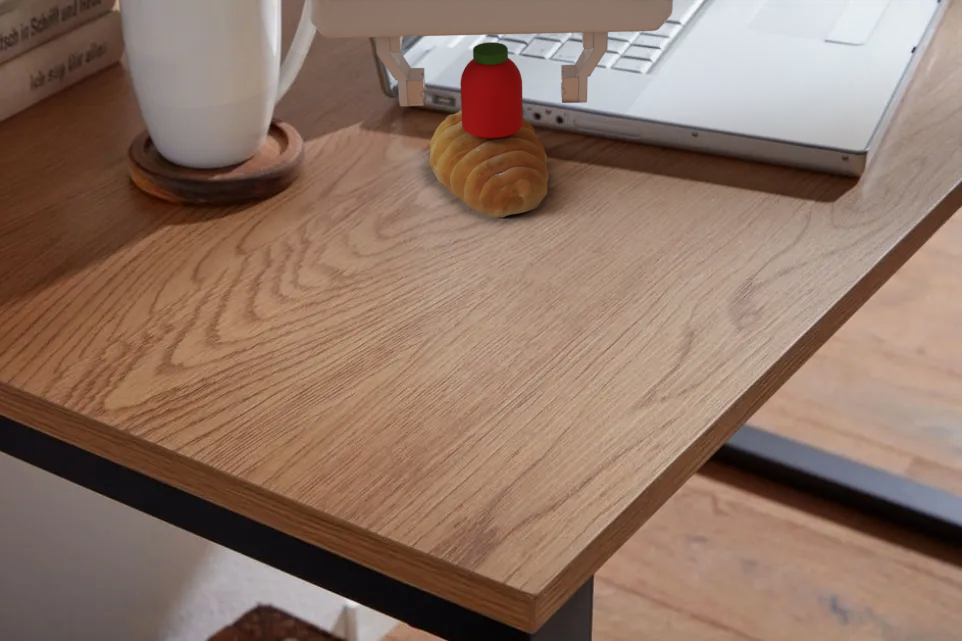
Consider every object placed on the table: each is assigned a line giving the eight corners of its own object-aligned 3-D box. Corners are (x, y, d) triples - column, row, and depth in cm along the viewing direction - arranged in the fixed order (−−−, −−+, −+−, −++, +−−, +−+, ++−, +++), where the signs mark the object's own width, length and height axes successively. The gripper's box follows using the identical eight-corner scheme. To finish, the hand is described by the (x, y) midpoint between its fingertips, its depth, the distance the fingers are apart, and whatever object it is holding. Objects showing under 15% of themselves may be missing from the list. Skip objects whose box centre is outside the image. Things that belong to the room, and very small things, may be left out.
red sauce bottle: (522, 111, 81) (521, 35, 78) (522, 137, 78) (521, 60, 75) (462, 112, 81) (459, 37, 78) (461, 138, 78) (458, 61, 75)
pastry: (575, 214, 78) (575, 155, 76) (464, 235, 76) (461, 176, 74) (522, 146, 85) (520, 91, 83) (420, 164, 84) (416, 108, 82)
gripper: (678, -162, 73) (666, 75, 81) (304, -152, 74) (328, 82, 81) (691, -129, 68) (677, 120, 75) (289, -119, 68) (316, 127, 76)
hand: (493, 100), depth 78 cm, fingers open, 8 cm apart
